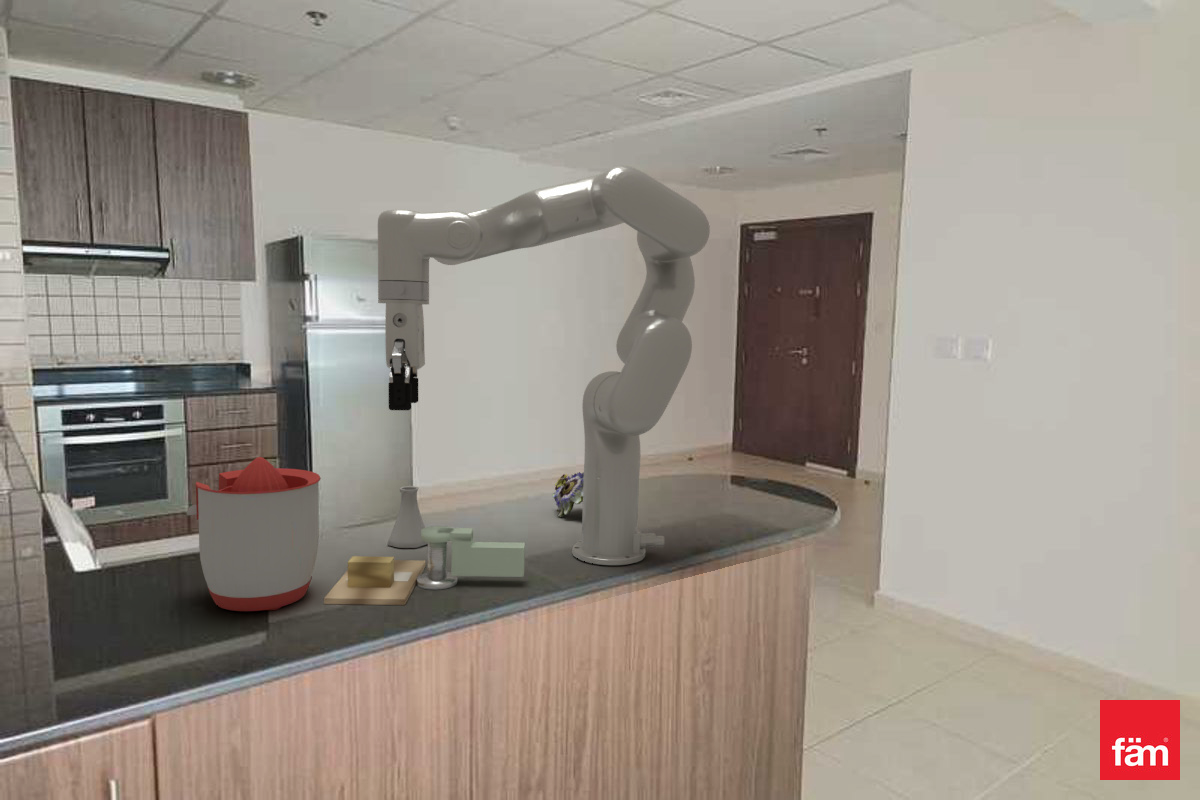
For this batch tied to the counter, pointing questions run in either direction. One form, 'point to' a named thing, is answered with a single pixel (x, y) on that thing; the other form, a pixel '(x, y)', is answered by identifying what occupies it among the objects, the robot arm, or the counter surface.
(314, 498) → the citrus juicer
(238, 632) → the counter surface
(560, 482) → the passion flower
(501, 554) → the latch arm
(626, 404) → the robot arm
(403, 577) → the oak board
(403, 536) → the flask
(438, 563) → the post
